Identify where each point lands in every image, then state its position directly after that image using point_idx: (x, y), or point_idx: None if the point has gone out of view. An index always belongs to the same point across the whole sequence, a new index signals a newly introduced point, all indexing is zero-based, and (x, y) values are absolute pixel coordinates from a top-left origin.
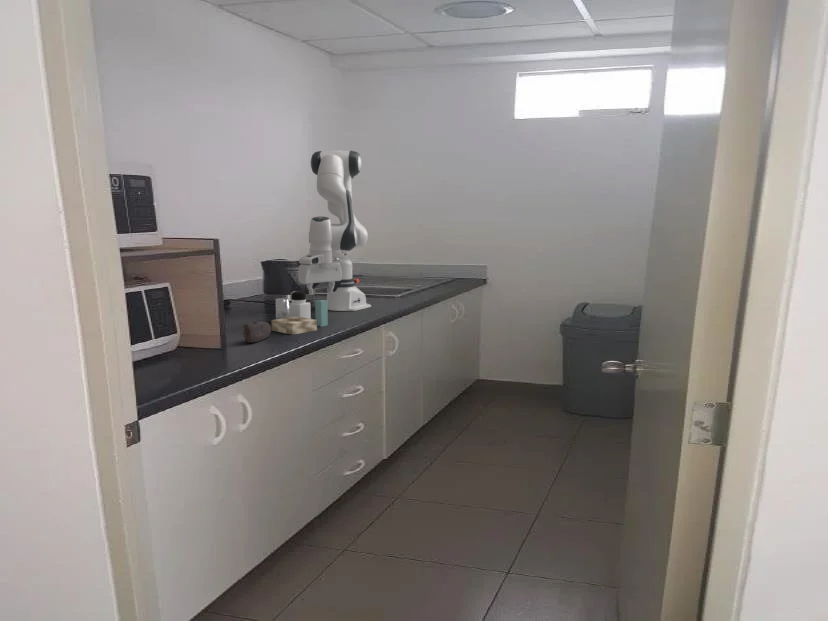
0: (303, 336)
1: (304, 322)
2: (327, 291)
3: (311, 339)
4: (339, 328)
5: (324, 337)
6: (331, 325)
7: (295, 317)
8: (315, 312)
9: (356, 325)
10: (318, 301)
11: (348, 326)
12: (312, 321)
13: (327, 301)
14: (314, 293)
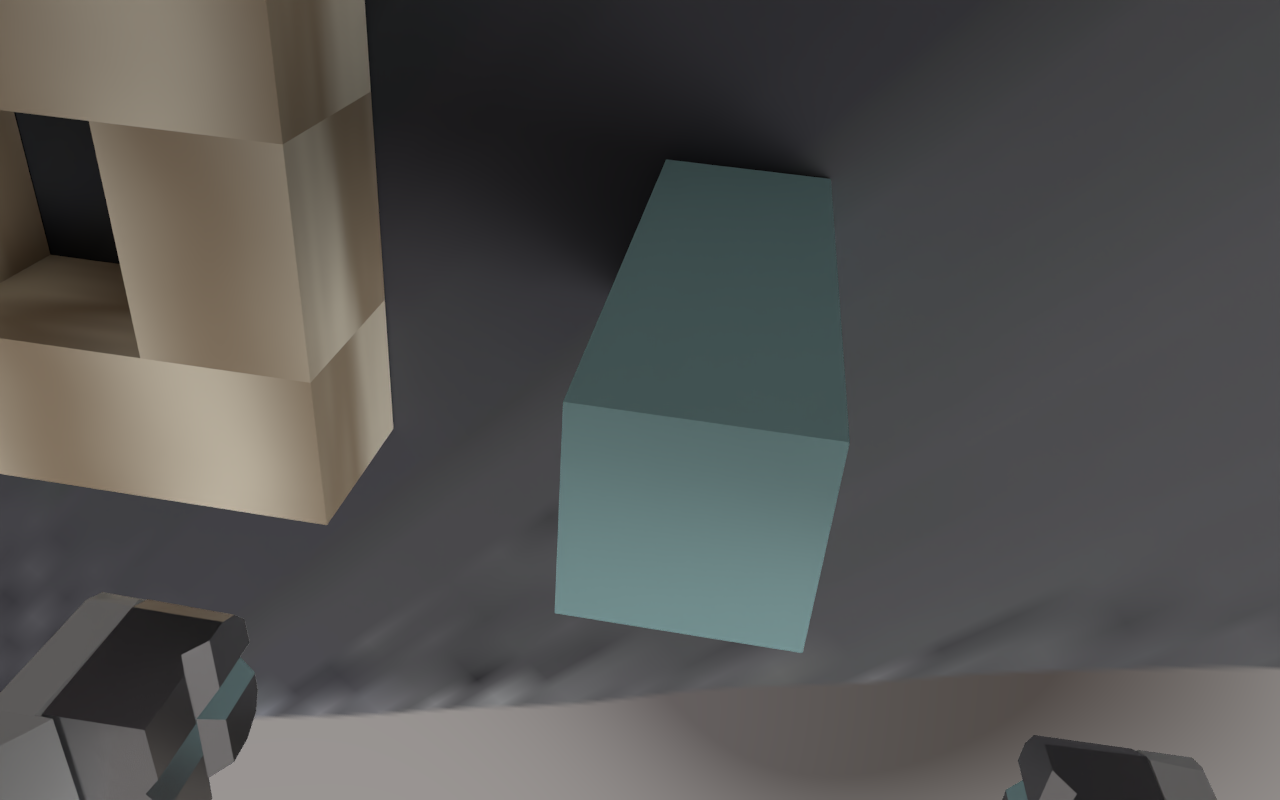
0: (32, 521)
1: (69, 478)
2: (1038, 784)
3: None
4: None
5: None
6: None
7: (157, 39)
8: (627, 254)
9: (1042, 656)
10: (560, 517)
11: (907, 610)
12: (240, 499)
13: (801, 631)
14: (221, 748)
